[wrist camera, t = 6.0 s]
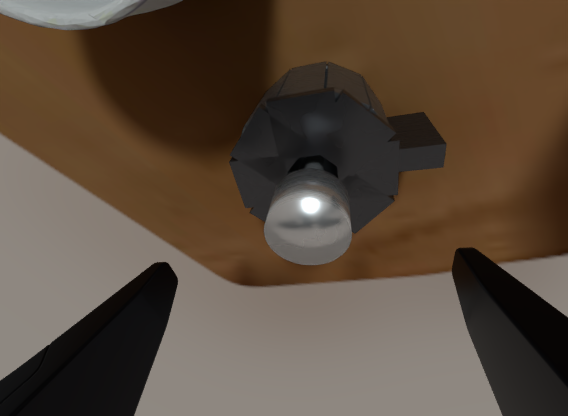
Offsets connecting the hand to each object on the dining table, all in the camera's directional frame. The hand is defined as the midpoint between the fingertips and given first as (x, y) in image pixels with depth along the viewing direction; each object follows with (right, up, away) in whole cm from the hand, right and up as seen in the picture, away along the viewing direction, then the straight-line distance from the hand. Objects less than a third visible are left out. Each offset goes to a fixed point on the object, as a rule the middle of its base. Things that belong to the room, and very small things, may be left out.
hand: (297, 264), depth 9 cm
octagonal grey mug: (+2, +6, +8) cm, 11 cm away
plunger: (+1, +6, +7) cm, 9 cm away
